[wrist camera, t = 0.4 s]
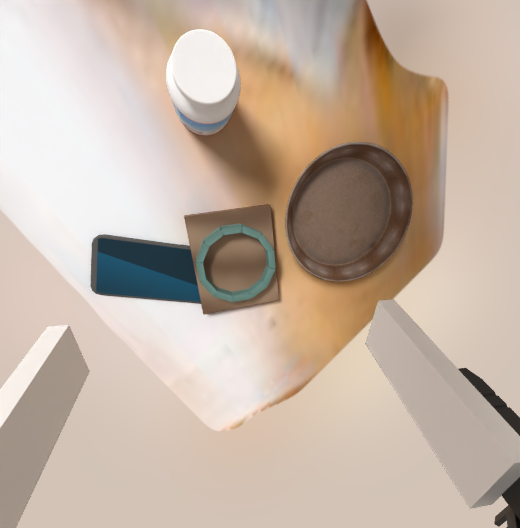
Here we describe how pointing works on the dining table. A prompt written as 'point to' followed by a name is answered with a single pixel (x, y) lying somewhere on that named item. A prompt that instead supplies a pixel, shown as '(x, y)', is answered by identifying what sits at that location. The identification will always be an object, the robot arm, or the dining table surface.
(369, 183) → the plant saucer
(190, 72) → the pill bottle
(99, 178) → the dining table surface
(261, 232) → the holder board
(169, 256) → the smartphone
